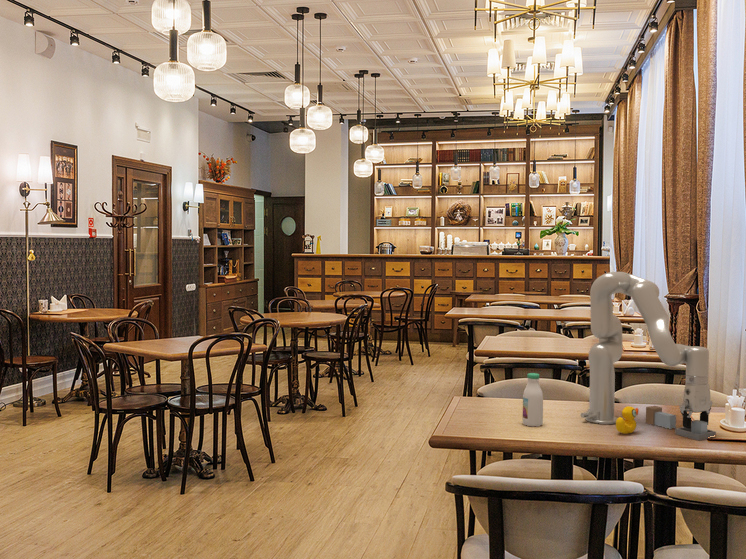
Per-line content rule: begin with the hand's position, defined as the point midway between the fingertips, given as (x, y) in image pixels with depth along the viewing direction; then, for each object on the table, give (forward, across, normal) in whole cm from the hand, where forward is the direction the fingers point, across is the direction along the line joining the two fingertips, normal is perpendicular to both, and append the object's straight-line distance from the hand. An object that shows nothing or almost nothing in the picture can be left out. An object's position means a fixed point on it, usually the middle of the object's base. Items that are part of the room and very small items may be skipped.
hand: (695, 426), depth 252 cm
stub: (+3, 0, -2) cm, 3 cm away
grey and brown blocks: (+4, +1, +16) cm, 16 cm away
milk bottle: (+4, -43, +40) cm, 59 cm away
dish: (+4, 0, 0) cm, 4 cm away
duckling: (+4, -20, +14) cm, 25 cm away
